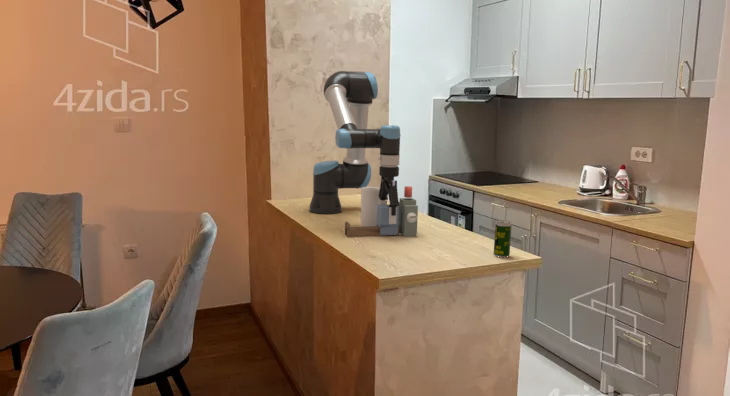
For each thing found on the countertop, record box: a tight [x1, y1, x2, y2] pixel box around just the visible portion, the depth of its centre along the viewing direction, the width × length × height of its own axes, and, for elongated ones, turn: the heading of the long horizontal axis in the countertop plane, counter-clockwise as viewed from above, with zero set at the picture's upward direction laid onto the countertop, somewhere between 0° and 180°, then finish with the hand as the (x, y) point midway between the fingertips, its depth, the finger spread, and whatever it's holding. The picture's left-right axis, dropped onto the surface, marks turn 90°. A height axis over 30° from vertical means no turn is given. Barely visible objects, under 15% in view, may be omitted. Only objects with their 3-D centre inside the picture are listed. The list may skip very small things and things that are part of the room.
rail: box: [344, 221, 401, 238], centre depth 217 cm, size 5×21×5 cm, turn 103°
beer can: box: [493, 219, 512, 258], centre depth 190 cm, size 5×5×12 cm
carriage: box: [377, 203, 399, 236], centre depth 218 cm, size 6×7×11 cm
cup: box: [360, 186, 380, 226], centre depth 231 cm, size 8×8×16 cm
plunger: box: [403, 185, 413, 198], centre depth 218 cm, size 3×3×4 cm
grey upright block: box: [398, 197, 419, 238], centre depth 219 cm, size 11×5×14 cm, turn 13°
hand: (387, 220), depth 218 cm, fingers open, 13 cm apart
